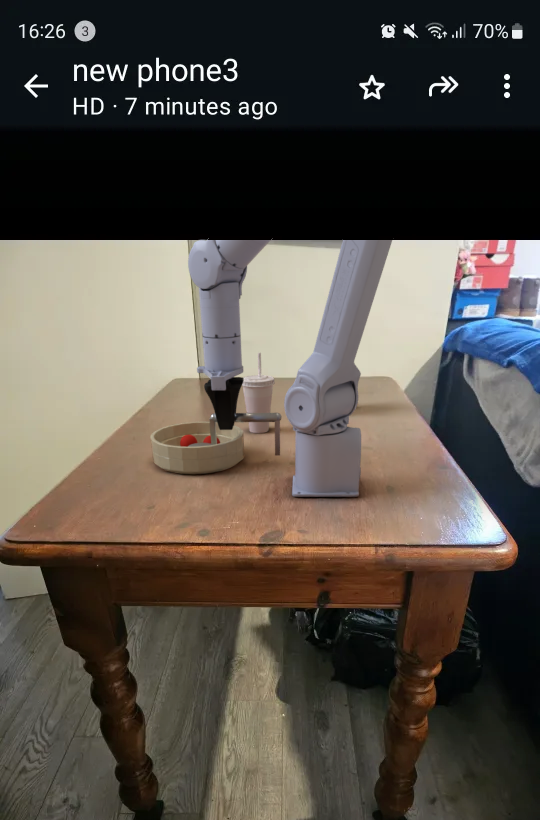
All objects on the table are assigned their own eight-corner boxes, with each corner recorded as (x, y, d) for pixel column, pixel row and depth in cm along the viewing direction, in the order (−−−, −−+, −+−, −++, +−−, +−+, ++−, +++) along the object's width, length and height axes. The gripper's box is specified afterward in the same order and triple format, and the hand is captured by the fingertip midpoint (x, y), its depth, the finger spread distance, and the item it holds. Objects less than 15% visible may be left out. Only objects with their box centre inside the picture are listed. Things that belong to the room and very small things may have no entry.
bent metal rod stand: (186, 459, 94) (182, 417, 91) (190, 450, 98) (186, 410, 95) (281, 458, 94) (281, 416, 90) (282, 450, 97) (282, 409, 94)
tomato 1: (199, 449, 101) (198, 432, 100) (196, 454, 99) (195, 437, 97) (182, 449, 102) (180, 432, 100) (179, 455, 99) (177, 437, 98)
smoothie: (281, 431, 112) (281, 353, 105) (254, 437, 109) (251, 357, 102) (263, 424, 117) (261, 349, 110) (236, 429, 114) (232, 353, 107)
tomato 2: (222, 450, 101) (220, 433, 99) (219, 455, 98) (218, 438, 97) (204, 450, 101) (203, 433, 99) (202, 455, 98) (200, 438, 97)
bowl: (247, 446, 104) (246, 421, 102) (239, 475, 92) (238, 447, 89) (164, 446, 105) (161, 421, 103) (144, 475, 92) (140, 447, 90)
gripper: (201, 329, 93) (208, 416, 100) (186, 343, 80) (195, 440, 88) (245, 329, 92) (249, 415, 100) (237, 342, 80) (241, 440, 87)
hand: (226, 427), depth 94 cm, fingers closed on bent metal rod stand
